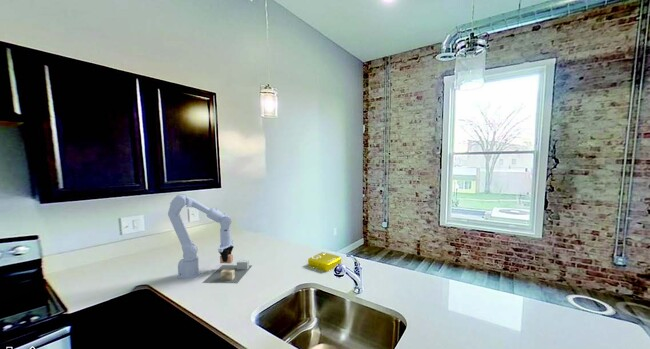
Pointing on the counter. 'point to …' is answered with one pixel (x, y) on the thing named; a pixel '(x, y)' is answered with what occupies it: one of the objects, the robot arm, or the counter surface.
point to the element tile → (324, 261)
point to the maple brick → (227, 274)
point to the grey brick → (243, 264)
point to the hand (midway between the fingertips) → (226, 260)
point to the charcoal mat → (217, 274)
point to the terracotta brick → (230, 259)
